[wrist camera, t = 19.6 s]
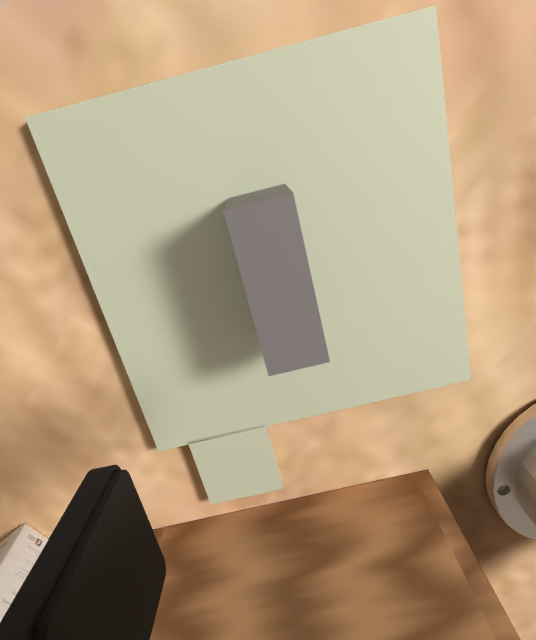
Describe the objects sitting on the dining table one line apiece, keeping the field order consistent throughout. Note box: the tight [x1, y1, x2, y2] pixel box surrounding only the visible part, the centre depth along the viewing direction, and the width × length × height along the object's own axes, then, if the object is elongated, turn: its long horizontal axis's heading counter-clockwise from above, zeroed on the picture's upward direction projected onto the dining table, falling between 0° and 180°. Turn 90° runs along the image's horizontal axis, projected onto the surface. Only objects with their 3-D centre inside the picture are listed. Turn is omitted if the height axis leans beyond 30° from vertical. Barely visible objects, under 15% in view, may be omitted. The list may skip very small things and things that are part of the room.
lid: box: [25, 5, 471, 505], centre depth 24 cm, size 20×25×6 cm
